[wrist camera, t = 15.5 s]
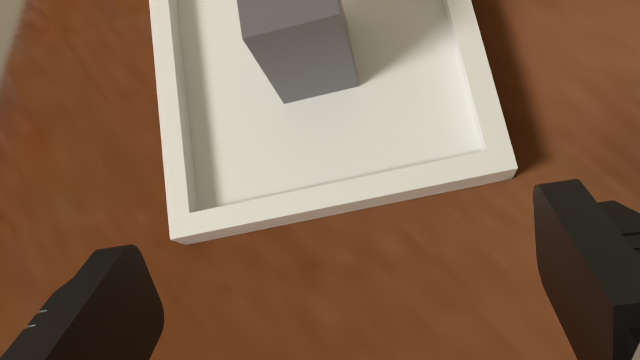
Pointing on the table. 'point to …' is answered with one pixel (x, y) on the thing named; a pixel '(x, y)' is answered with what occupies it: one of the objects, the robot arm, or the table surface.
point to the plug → (300, 45)
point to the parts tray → (322, 118)
